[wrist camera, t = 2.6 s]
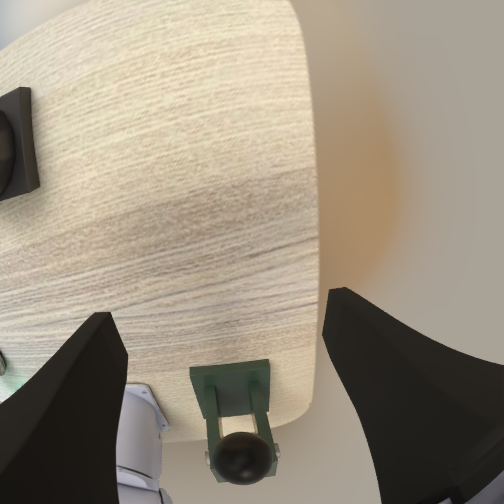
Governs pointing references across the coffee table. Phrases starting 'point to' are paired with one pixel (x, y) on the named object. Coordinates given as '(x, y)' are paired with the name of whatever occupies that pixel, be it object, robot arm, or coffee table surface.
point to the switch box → (16, 145)
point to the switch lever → (242, 458)
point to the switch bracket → (234, 401)
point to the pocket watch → (2, 366)
